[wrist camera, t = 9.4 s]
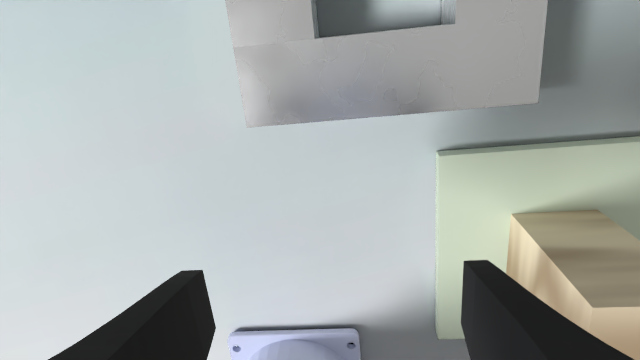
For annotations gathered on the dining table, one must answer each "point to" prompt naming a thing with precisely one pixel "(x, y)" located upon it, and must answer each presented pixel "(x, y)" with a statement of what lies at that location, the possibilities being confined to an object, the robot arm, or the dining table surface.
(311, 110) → the socket block
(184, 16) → the dining table surface
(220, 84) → the dining table surface
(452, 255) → the pad
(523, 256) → the key peg
